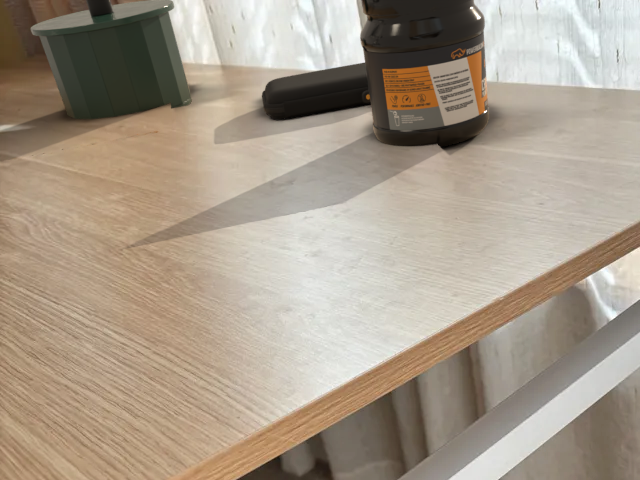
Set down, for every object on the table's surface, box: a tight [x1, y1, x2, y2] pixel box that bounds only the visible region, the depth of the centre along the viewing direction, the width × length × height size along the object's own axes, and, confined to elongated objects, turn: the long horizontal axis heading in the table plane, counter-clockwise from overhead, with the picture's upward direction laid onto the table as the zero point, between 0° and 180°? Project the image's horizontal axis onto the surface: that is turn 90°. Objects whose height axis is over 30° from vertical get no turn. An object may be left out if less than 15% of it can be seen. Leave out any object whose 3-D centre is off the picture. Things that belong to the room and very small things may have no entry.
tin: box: [38, 11, 193, 120], centre depth 96 cm, size 15×15×10 cm
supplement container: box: [359, 0, 490, 148], centre depth 70 cm, size 10×10×12 cm
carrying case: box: [261, 62, 371, 121], centre depth 86 cm, size 11×3×15 cm
